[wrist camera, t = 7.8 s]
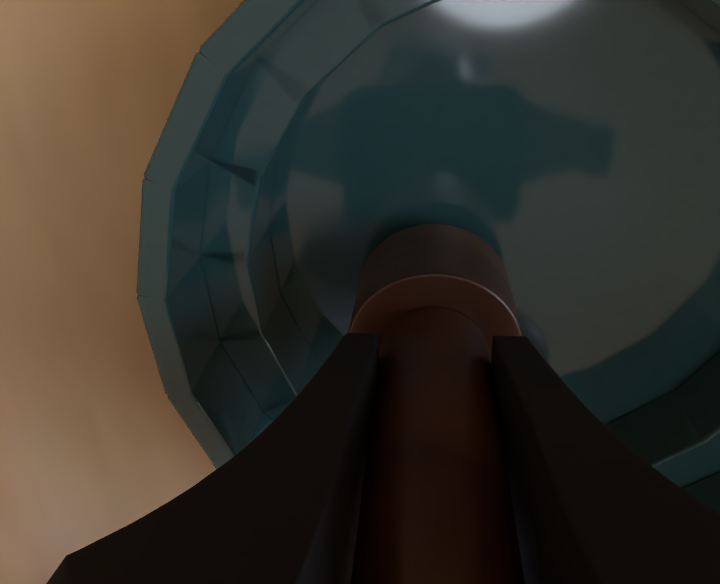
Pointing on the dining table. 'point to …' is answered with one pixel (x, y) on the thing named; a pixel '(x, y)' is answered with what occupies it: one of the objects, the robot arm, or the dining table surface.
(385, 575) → the muddler
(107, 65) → the dining table surface
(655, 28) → the bowl
